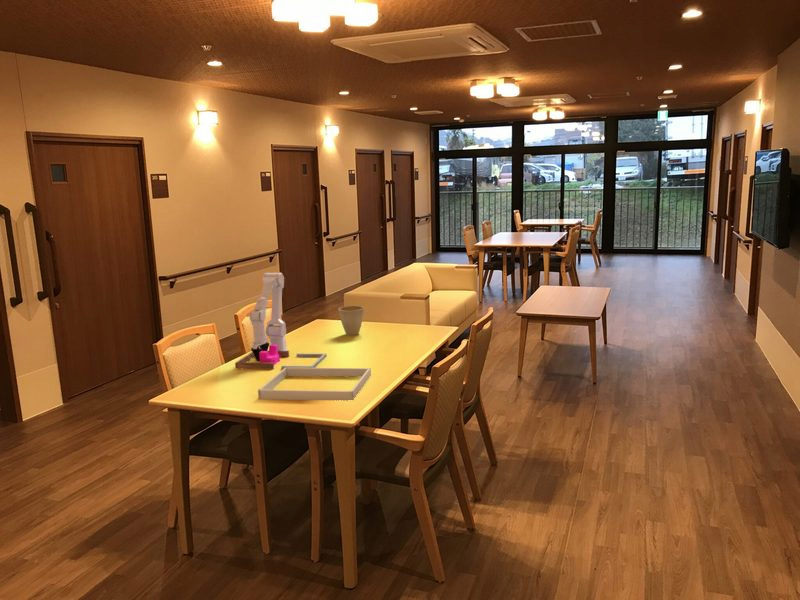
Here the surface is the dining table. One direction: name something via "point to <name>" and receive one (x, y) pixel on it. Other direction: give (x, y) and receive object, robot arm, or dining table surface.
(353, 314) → the plant pot
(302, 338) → the dining table surface
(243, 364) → the walnut stall
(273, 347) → the toy block
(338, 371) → the frame
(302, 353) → the frame
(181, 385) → the dining table surface
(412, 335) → the dining table surface
